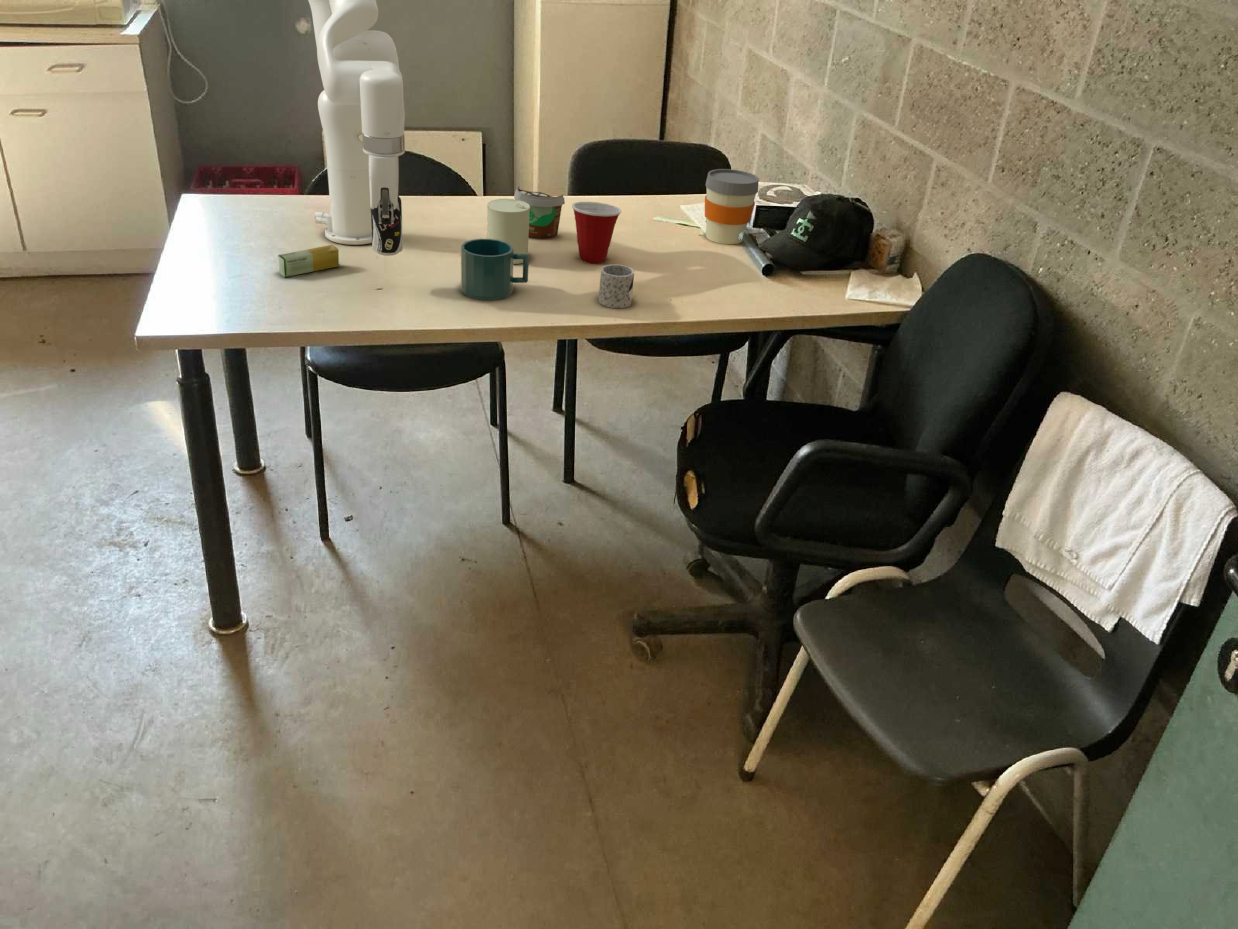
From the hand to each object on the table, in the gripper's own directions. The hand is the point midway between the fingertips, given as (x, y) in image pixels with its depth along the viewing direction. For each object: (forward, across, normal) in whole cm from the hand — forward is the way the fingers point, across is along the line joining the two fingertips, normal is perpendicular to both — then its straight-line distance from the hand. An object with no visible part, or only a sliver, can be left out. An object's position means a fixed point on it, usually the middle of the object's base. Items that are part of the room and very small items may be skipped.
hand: (387, 238), depth 187 cm
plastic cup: (+10, -17, +44) cm, 48 cm away
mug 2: (+10, +5, +44) cm, 46 cm away
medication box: (+10, -8, -16) cm, 21 cm away
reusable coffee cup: (+10, -33, +79) cm, 86 cm away
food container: (+11, -32, +32) cm, 47 cm away
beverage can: (+3, 0, 0) cm, 3 cm away
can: (+10, -18, +25) cm, 32 cm away
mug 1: (+10, +1, +21) cm, 23 cm away
